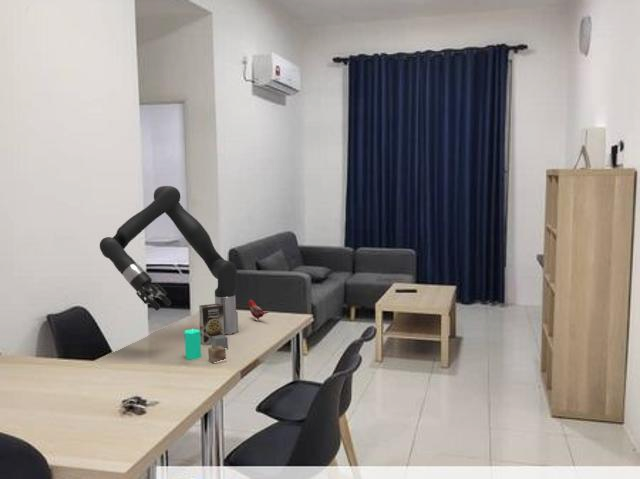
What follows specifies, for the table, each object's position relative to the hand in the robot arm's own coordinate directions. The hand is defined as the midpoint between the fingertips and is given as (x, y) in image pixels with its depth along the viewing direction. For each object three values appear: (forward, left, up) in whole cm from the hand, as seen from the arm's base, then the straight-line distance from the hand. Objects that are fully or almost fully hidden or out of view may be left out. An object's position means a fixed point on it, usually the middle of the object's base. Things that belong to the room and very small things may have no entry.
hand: (164, 306), depth 226 cm
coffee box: (-22, -8, -20) cm, 31 cm away
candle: (-8, +8, -20) cm, 23 cm away
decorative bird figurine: (-54, -29, -20) cm, 65 cm away
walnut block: (-14, +18, -20) cm, 30 cm away
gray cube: (-21, +3, -20) cm, 29 cm away
